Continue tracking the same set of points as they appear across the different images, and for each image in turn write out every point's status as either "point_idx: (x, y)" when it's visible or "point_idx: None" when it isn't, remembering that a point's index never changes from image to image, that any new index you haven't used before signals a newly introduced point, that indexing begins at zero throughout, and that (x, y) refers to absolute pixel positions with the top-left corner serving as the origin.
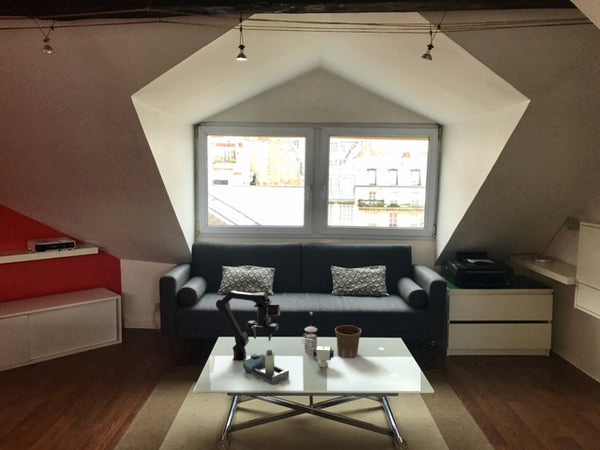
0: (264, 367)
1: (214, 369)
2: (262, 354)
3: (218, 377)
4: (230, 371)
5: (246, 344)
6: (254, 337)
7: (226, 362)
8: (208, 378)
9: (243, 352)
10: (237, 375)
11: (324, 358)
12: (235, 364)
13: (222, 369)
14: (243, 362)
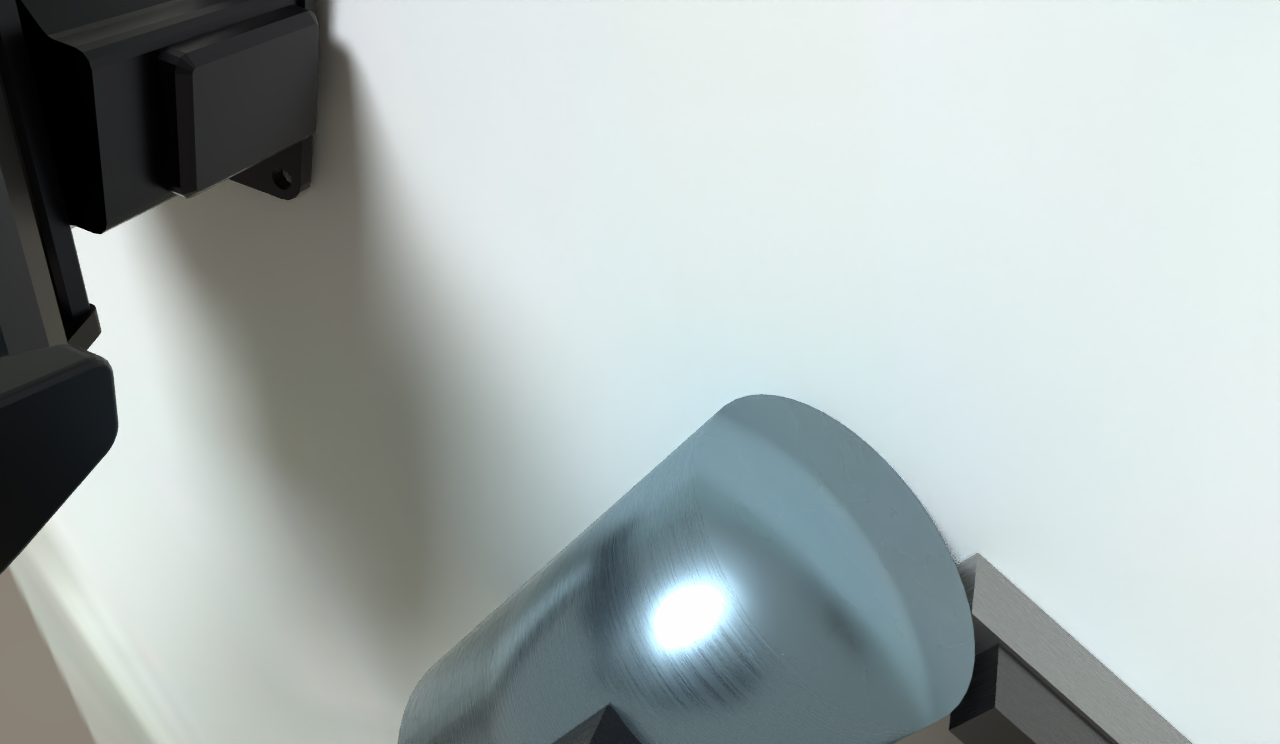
0: (917, 731)
1: None
2: (791, 683)
3: (225, 725)
4: (294, 591)
5: (17, 266)
6: (15, 525)
7: None
8: (126, 724)
9: (169, 187)
10: None
11: None
12: (251, 336)
13: (146, 510)
14: (406, 736)
